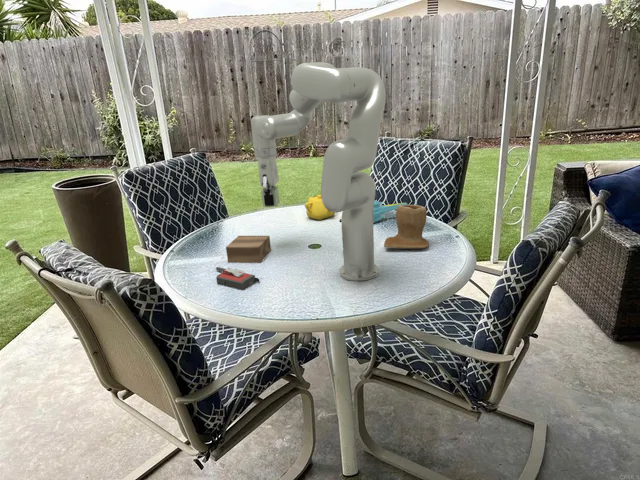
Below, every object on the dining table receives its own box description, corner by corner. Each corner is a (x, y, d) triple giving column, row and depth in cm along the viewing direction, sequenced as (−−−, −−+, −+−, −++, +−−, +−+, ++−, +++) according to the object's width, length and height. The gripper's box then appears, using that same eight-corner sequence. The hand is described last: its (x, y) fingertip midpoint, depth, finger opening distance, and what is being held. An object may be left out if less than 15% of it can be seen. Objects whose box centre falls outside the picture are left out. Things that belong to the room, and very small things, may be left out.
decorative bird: (331, 228, 183) (329, 206, 180) (385, 212, 199) (384, 192, 196) (352, 236, 172) (351, 213, 169) (407, 218, 188) (407, 197, 185)
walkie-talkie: (264, 281, 139) (219, 270, 149) (263, 268, 137) (217, 258, 148) (245, 292, 132) (199, 280, 143) (244, 279, 130) (197, 268, 141)
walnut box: (260, 263, 152) (258, 247, 150) (228, 263, 155) (225, 247, 153) (271, 251, 163) (269, 235, 161) (240, 250, 166) (238, 235, 164)
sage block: (276, 206, 157) (275, 189, 155) (263, 207, 157) (261, 190, 155) (279, 202, 161) (277, 186, 159) (266, 203, 162) (264, 187, 160)
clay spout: (428, 240, 161) (428, 200, 156) (428, 252, 151) (429, 210, 146) (386, 240, 165) (385, 201, 160) (383, 252, 154) (382, 210, 149)
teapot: (310, 212, 207) (308, 191, 203) (337, 212, 205) (336, 190, 201) (304, 221, 194) (302, 199, 190) (333, 221, 192) (332, 198, 188)
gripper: (271, 156, 145) (276, 209, 151) (280, 148, 160) (285, 197, 167) (248, 157, 145) (255, 210, 152) (260, 149, 161) (266, 198, 167)
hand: (271, 203), depth 159 cm, fingers closed on sage block, 5 cm apart
